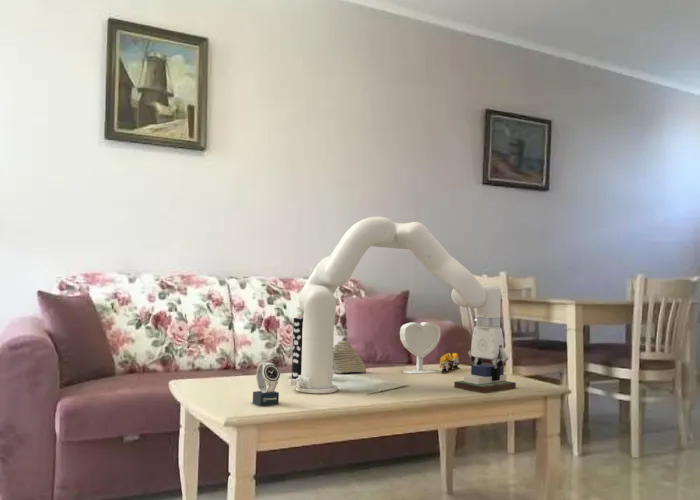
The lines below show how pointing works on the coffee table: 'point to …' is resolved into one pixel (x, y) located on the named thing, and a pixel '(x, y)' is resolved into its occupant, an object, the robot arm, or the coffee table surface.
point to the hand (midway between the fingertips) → (487, 378)
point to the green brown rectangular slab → (485, 386)
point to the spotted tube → (297, 347)
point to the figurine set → (449, 362)
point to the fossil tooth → (346, 359)
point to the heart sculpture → (419, 341)
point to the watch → (271, 377)
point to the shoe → (483, 374)
